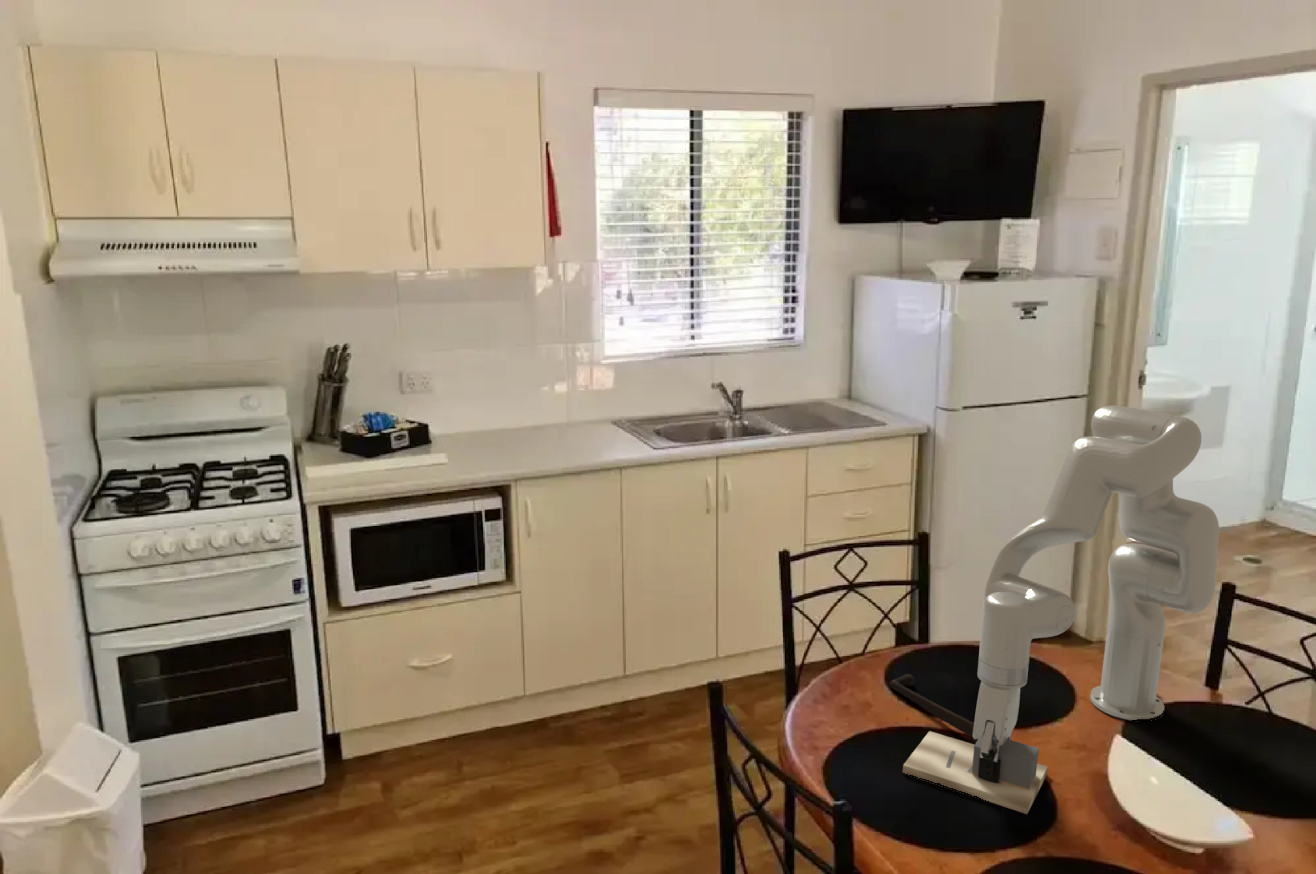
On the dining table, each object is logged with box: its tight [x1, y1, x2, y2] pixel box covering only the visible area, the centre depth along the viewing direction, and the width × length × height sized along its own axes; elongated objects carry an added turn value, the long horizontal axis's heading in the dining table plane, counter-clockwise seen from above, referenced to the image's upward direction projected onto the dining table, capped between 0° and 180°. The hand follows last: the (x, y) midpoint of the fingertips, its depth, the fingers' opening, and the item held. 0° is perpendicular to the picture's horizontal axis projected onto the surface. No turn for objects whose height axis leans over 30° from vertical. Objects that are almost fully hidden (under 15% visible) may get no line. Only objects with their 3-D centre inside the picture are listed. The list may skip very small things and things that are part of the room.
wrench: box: [889, 673, 984, 745], centre depth 178 cm, size 5×5×30 cm
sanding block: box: [972, 734, 1040, 791], centre depth 158 cm, size 5×9×5 cm, turn 58°
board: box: [902, 730, 1049, 815], centre depth 161 cm, size 13×20×2 cm, turn 56°
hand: (993, 770), depth 160 cm, fingers open, 5 cm apart
